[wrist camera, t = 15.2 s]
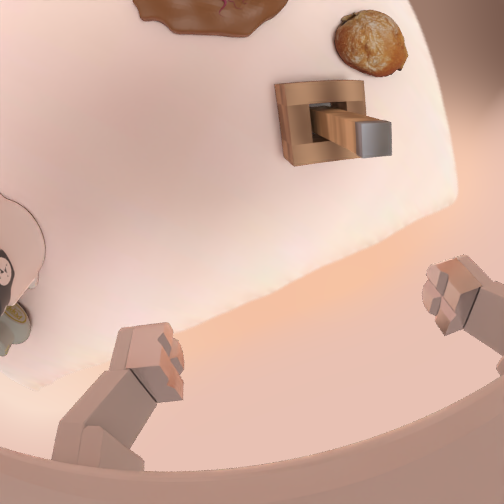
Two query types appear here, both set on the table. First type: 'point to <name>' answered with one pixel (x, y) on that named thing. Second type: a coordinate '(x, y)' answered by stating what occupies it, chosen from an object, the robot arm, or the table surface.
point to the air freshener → (13, 327)
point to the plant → (210, 15)
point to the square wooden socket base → (299, 123)
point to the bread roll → (371, 43)
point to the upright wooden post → (353, 131)
